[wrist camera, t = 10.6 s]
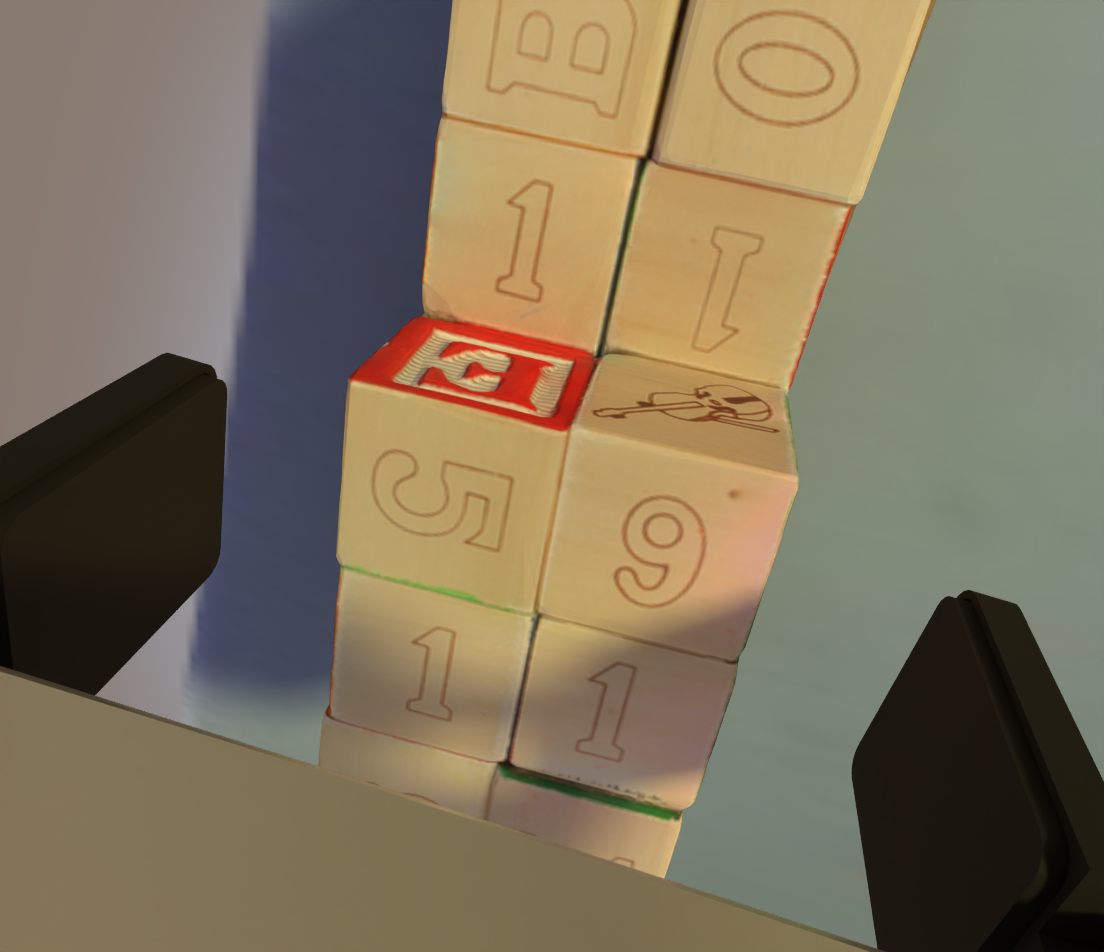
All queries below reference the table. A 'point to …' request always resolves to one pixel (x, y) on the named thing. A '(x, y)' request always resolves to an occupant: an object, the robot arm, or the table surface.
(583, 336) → the stack of blocks
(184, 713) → the table surface
